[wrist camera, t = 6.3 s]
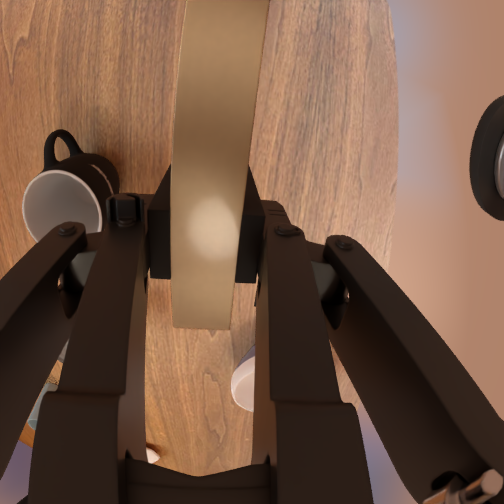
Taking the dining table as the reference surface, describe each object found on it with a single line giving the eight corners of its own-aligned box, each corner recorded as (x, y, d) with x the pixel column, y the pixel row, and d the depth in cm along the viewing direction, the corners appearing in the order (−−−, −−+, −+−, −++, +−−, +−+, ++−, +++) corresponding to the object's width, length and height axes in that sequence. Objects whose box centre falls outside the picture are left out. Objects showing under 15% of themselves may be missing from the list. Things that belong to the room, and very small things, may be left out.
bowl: (283, 386, 57) (290, 418, 51) (214, 368, 52) (215, 404, 46) (330, 338, 51) (343, 372, 45) (256, 312, 46) (263, 351, 40)
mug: (138, 204, 36) (116, 247, 27) (77, 222, 36) (44, 265, 27) (109, 109, 30) (72, 122, 21) (46, 135, 30) (-2, 158, 21)
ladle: (202, -28, 15) (186, -132, 4) (264, -23, 16) (318, -119, 4) (180, 201, 24) (149, 326, 13) (236, 204, 25) (253, 331, 13)
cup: (71, 404, 57) (61, 442, 48) (40, 392, 54) (28, 429, 45) (73, 388, 54) (61, 429, 45) (40, 375, 51) (26, 414, 42)
